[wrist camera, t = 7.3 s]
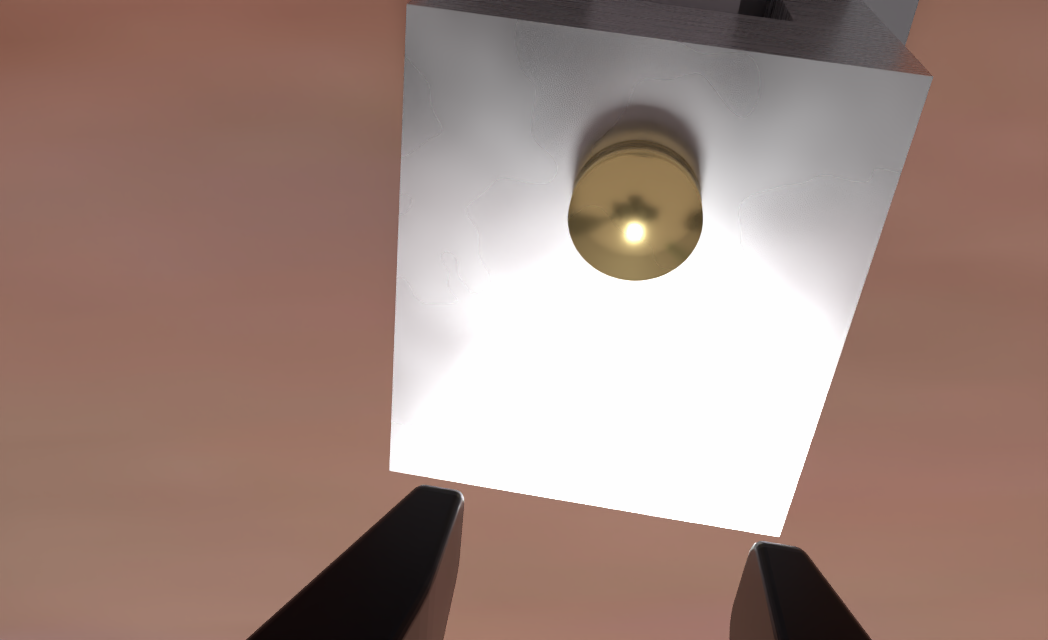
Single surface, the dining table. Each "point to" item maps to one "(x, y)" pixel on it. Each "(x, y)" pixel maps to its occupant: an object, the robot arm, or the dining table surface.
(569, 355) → the lock block
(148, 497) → the dining table surface
